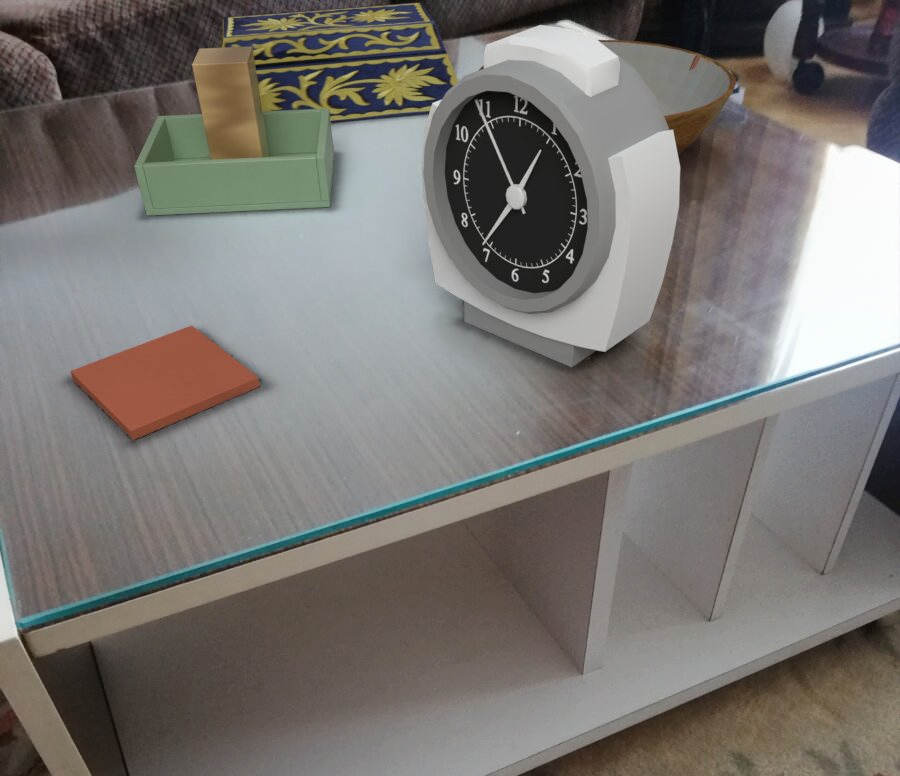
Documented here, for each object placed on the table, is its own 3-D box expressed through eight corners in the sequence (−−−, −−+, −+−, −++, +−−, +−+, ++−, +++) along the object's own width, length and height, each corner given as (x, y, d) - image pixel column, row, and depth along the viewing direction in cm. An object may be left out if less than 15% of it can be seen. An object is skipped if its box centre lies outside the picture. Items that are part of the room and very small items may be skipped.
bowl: (429, 152, 98) (425, 68, 92) (612, 104, 107) (619, 25, 101) (574, 235, 83) (581, 141, 77) (773, 171, 92) (793, 83, 86)
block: (216, 188, 91) (191, 64, 83) (222, 169, 94) (199, 48, 86) (267, 186, 91) (247, 62, 83) (271, 167, 94) (252, 46, 86)
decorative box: (468, 110, 107) (468, 21, 100) (208, 133, 103) (190, 43, 97) (451, 81, 114) (449, -3, 108) (207, 102, 111) (190, 16, 104)
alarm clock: (416, 314, 73) (401, 24, 59) (485, 276, 78) (486, -3, 63) (601, 394, 65) (636, 77, 50) (667, 346, 69) (716, 42, 55)
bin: (146, 216, 88) (133, 166, 85) (168, 162, 97) (157, 115, 94) (330, 207, 88) (324, 157, 85) (334, 154, 98) (329, 108, 95)
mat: (73, 380, 68) (69, 370, 67) (194, 334, 72) (191, 324, 71) (133, 440, 62) (130, 430, 62) (260, 386, 66) (258, 377, 66)
